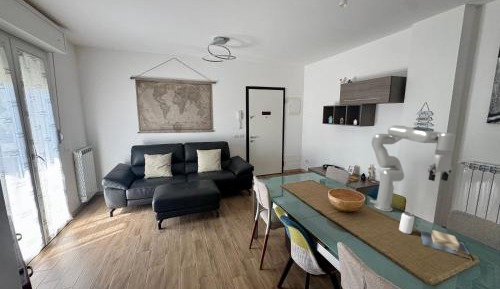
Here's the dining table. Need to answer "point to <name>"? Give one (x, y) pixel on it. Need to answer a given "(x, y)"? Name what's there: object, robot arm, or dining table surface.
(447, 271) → the dining table surface
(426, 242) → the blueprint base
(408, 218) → the can
